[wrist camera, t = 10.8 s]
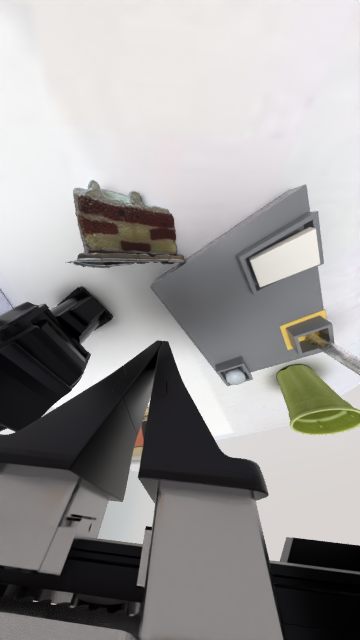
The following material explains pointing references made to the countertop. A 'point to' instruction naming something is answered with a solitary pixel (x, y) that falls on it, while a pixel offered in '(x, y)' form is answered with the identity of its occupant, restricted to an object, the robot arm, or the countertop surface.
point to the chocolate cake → (122, 229)
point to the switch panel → (249, 294)
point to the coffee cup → (139, 445)
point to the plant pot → (314, 403)
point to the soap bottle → (4, 304)
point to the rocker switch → (286, 257)
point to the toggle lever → (334, 352)
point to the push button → (235, 376)
